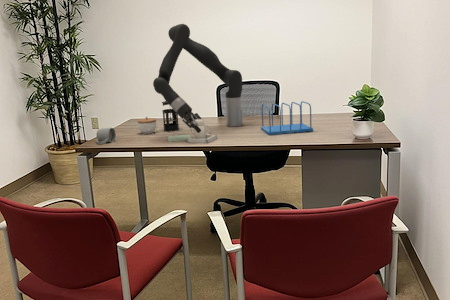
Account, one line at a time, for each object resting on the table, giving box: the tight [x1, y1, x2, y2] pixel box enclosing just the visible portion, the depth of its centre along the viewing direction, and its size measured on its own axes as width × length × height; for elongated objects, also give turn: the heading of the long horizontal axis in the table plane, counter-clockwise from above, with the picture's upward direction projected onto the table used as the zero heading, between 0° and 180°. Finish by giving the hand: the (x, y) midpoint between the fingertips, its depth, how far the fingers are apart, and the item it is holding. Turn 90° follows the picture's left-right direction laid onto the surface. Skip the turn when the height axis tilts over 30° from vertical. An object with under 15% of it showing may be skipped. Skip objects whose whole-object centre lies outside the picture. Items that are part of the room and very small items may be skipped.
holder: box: [187, 134, 218, 144], centre depth 235 cm, size 11×11×2 cm
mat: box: [167, 134, 192, 143], centre depth 243 cm, size 12×12×1 cm
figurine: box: [193, 118, 210, 139], centre depth 235 cm, size 8×6×11 cm
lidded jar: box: [137, 116, 157, 135], centre depth 262 cm, size 11×11×9 cm
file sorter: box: [260, 100, 314, 136], centre depth 249 cm, size 25×17×15 cm
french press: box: [161, 100, 180, 132], centre depth 267 cm, size 12×9×23 cm
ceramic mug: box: [96, 127, 117, 145], centre depth 242 cm, size 11×8×8 cm
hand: (202, 130), depth 234 cm, fingers closed on figurine, 6 cm apart
